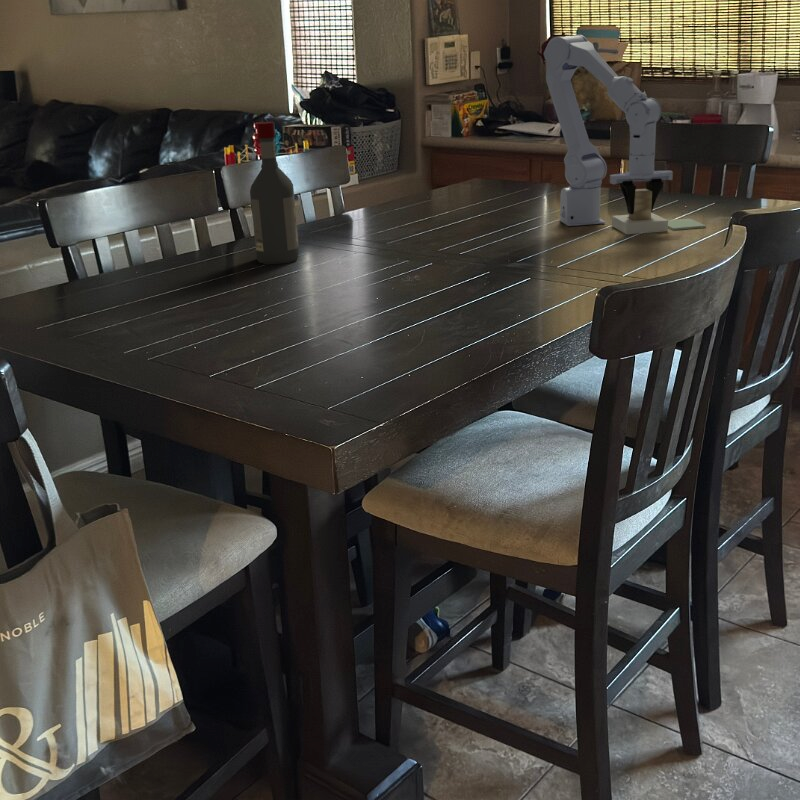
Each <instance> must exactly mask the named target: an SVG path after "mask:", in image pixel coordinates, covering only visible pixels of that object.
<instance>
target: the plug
mask: <svg viewBox="0 0 800 800" xmlns="http://www.w3.org/2000/svg"><path fill="white" fill-rule="evenodd" d="M651 207H652V191H650V190H648V189H646V188H636V190H635V196H634V212H633V214H629V213H628V215H629V219H630V220H632V221H639V220H651Z"/></svg>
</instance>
